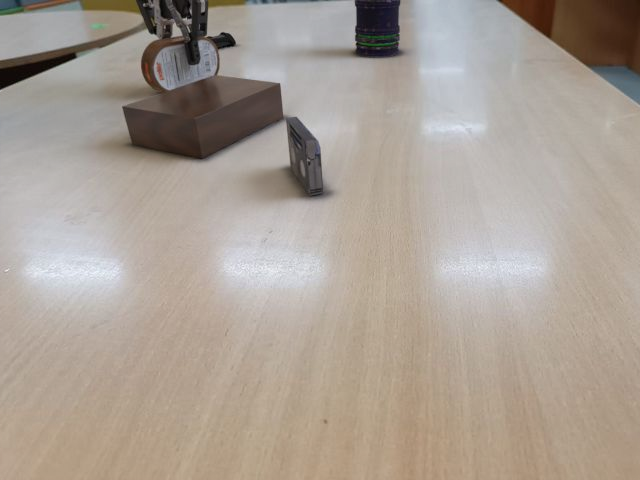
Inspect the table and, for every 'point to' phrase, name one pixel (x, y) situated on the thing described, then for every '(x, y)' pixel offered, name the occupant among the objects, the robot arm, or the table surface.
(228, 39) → the electric trimmer
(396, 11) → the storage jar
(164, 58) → the tin
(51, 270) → the table surface
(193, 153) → the block
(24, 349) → the table surface
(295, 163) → the mini dv tape
